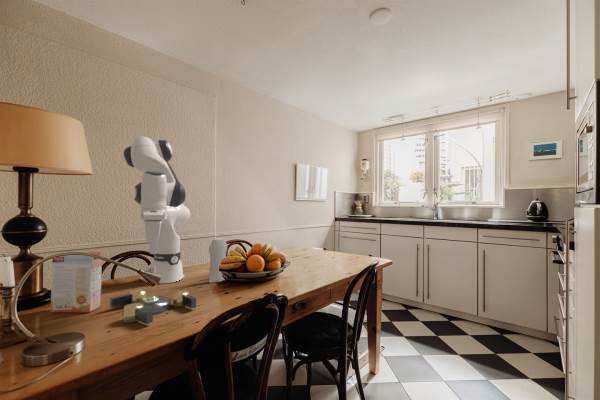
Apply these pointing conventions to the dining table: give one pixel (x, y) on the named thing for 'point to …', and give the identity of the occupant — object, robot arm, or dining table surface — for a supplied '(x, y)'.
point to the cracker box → (76, 283)
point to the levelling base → (155, 303)
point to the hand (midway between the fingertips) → (152, 251)
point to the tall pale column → (216, 259)
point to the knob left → (183, 299)
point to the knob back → (127, 298)
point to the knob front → (137, 313)
